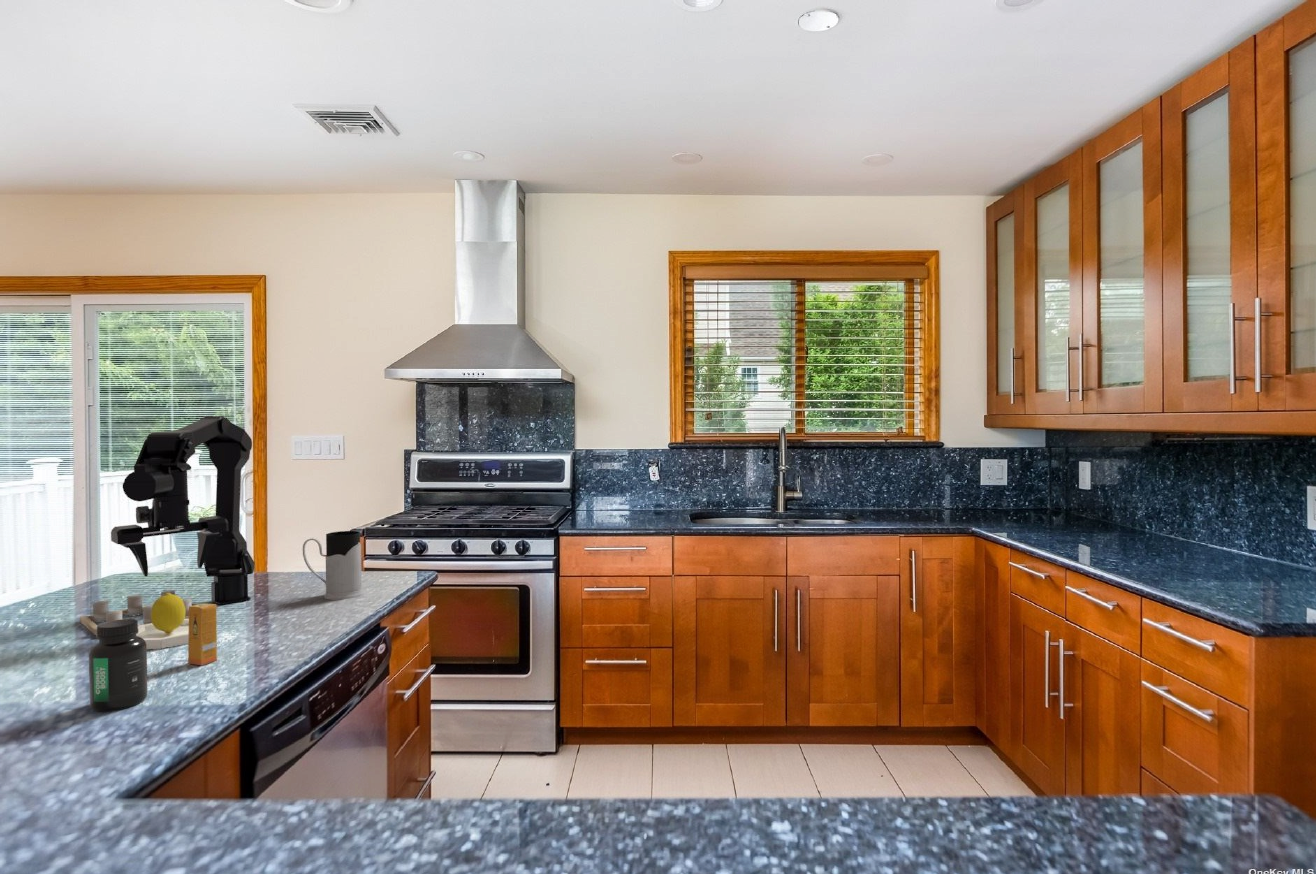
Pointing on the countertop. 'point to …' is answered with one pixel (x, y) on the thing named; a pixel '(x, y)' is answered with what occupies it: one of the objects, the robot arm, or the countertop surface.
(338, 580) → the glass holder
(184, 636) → the dish
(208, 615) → the supplement box
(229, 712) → the countertop surface
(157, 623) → the lemon
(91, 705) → the supplement bottle
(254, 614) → the countertop surface
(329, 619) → the countertop surface
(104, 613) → the spacer field
